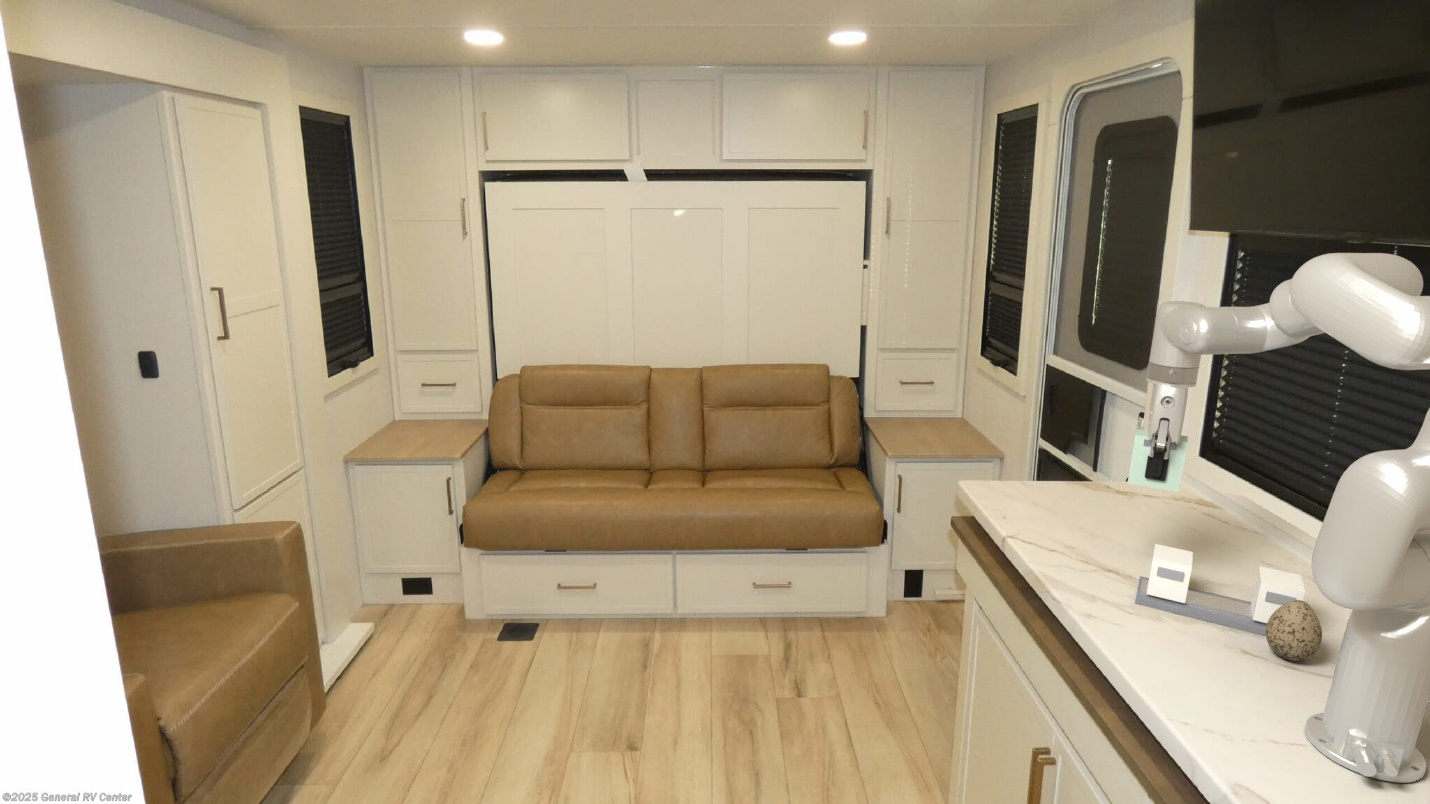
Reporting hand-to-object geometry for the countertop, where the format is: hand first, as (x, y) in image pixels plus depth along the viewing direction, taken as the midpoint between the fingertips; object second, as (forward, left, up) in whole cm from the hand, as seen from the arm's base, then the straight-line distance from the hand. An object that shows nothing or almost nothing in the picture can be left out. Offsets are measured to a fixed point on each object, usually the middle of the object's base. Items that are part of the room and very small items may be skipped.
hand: (1155, 474), depth 142 cm
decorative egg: (-11, -23, -23) cm, 34 cm away
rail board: (0, -13, -23) cm, 26 cm away
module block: (0, 0, -2) cm, 2 cm away
